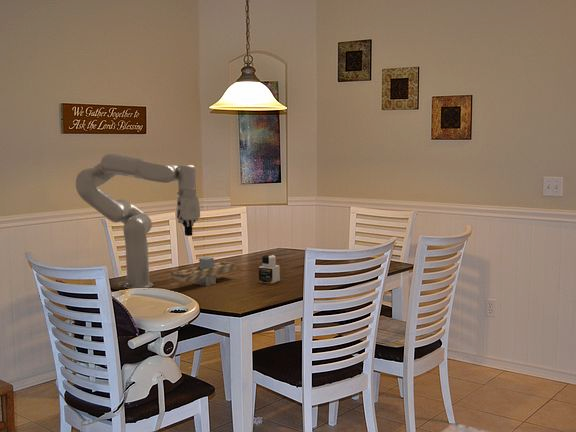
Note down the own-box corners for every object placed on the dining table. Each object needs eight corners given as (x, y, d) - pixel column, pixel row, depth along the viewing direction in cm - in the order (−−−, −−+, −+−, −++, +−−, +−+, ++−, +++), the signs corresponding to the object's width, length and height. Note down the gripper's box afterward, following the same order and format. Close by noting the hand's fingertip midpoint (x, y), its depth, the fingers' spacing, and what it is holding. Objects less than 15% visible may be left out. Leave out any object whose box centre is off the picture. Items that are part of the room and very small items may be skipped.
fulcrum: (206, 286, 313) (206, 277, 313) (193, 283, 318) (193, 275, 318) (216, 283, 318) (215, 274, 317) (203, 281, 323) (203, 272, 323)
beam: (183, 282, 303) (183, 274, 303) (171, 280, 308) (171, 272, 308) (235, 270, 328) (235, 262, 327) (223, 268, 333) (223, 260, 332)
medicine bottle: (258, 282, 319) (258, 256, 318) (266, 279, 325) (265, 253, 324) (272, 283, 316) (272, 257, 314) (280, 280, 322) (279, 254, 320)
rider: (206, 270, 316) (206, 259, 315) (199, 269, 318) (199, 258, 318) (213, 269, 319) (213, 258, 318) (206, 267, 322) (206, 257, 321)
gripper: (180, 195, 299) (181, 238, 301) (205, 192, 310) (207, 234, 312) (168, 194, 304) (169, 236, 306) (194, 191, 315) (195, 232, 317)
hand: (188, 235), depth 309 cm, fingers closed
